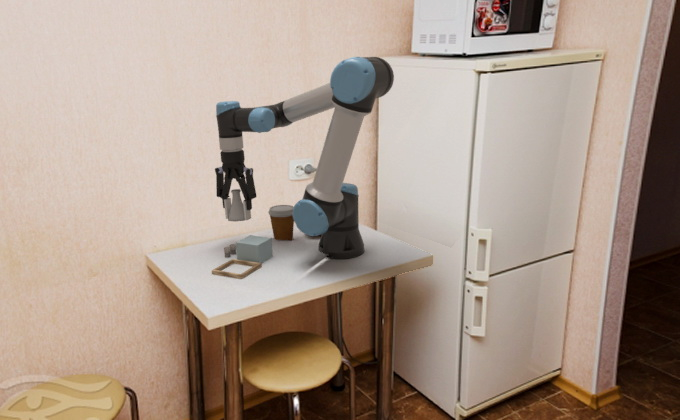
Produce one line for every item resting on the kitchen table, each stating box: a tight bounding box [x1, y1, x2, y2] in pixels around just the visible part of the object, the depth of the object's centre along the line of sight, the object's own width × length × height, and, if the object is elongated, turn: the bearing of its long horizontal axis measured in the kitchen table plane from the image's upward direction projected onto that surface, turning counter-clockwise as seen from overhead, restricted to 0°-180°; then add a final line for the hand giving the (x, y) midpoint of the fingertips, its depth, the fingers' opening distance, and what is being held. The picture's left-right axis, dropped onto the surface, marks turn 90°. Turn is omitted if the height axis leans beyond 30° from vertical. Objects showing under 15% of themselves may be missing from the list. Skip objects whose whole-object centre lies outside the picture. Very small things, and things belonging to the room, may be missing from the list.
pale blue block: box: [235, 234, 274, 264], centre depth 178 cm, size 8×8×6 cm
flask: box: [227, 188, 246, 223], centre depth 187 cm, size 7×7×10 cm
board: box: [211, 243, 263, 280], centre depth 175 cm, size 18×20×4 cm
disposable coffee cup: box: [267, 204, 295, 242], centre depth 199 cm, size 10×10×12 cm
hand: (238, 218), depth 189 cm, fingers closed on flask, 7 cm apart
